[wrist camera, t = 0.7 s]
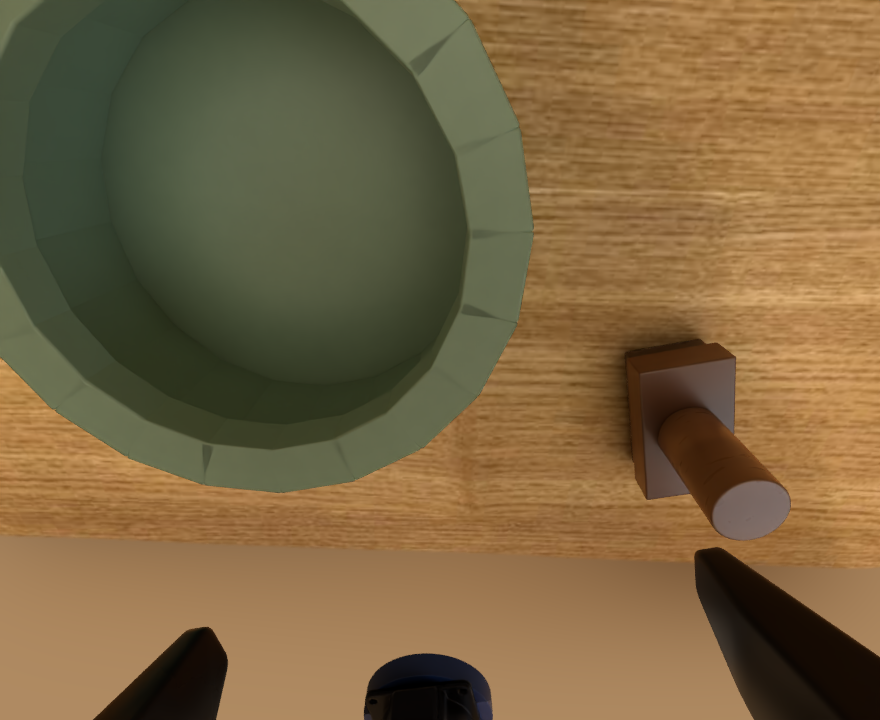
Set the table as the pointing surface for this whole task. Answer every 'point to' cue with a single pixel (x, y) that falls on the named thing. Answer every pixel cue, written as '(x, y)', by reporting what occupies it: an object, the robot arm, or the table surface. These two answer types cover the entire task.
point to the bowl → (257, 228)
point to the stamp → (698, 438)
